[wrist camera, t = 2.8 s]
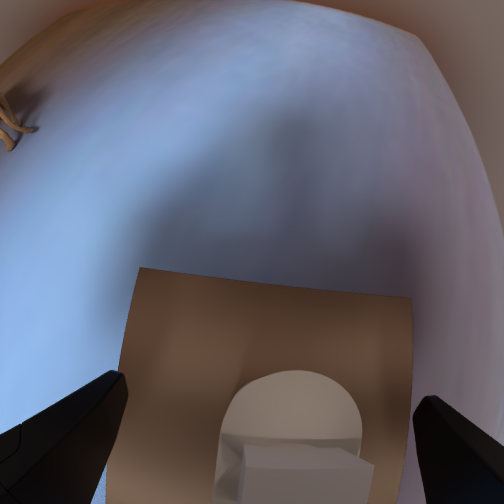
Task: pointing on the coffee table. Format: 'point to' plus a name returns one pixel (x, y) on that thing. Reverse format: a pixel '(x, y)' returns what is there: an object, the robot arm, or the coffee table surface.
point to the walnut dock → (249, 375)
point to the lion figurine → (10, 123)
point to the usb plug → (291, 444)
